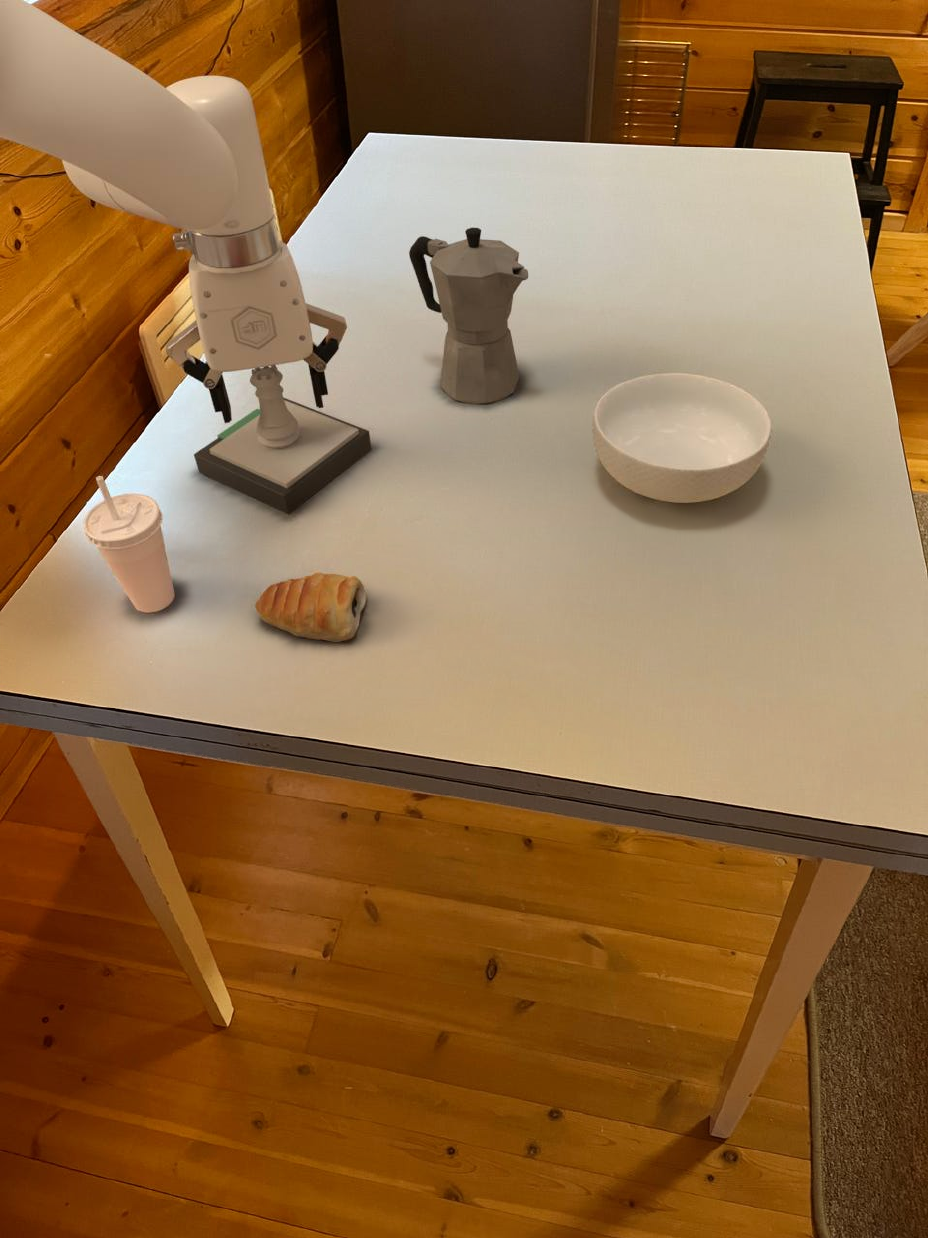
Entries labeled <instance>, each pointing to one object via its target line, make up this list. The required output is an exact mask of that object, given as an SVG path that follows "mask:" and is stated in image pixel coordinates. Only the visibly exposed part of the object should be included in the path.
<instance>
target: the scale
mask: <svg viewBox="0 0 928 1238" xmlns="http://www.w3.org/2000/svg"><path fill="white" fill-rule="evenodd" d="M283 399H284V402H285V404H286V407H287V409H288V411H290V412H291V414H292V415H293V416H294V417H295V419H296V420H297V422H298V427H299V429H300V435H299V437H298V439H297V440H296V441H295V443H293V444H291V445H290V446H288V447H284V448H278V449H273V448H268V447H266V446H264V445H263V444H262V443H260V442H259V440H258V433H257V431H256V429H257V423H258V422H259V421H258V420H259V417H260V408H256V409H254V410H253V411H251V412H249V414H247V415H245V416H244V417H242V418H241V419H240V420H238V421H236V422H234V423H233V424H232V425H230V426H228V428H226V429H225V430H222V431H221V432H220V433H219V434H217V438H216V439H214V440H213V441H211V442H210V443H208V444H207V445H205V446H203V447H202V448H201V449H200V450H198V451H196V452H195V453H193V457H194V460H195V464H196V467H197V470H198V473H199V474H201V475H203V476H205V477H207V478H209V479H212V480H214V481H216V482H218V483H220V484H222V485H224V486H226V487H229V488H230V489H233V490H236V491H237V492H239V493H242V494H244V495H246V496H247V497H250V498H252V499H254V500H257V501H258V502H261V503H263V504H264V505H268V506H269V507H271V508H274V509H275V510H278V511H280V512H282V513H285V514H287V515H290V514H291V513H293V512H294V511H295V510H296V509H298V508H299V507H300V506H301V505H303V504H304V503H306V502H307V501H308V500H310V499H311V498H312V497H313V496H315V494H317V493H319V491H321V490H322V489H323V488H324V487H326V486H327V485H329V484H330V483H331V482H332V481H334V480H335V479H336V478H337V477H339V476H340V475H341V474H342V473H344V472H345V471H346V470H347V469H349V468H350V467H352V465H354V464H355V463H356V462H358V461H359V460H360V459H361V458H363V457H364V456H366V454H368V453H369V452H371V451H372V443H371V437H370V436H371V435H370V431H369V430H368V429H365V428H364V427H363V428H362V427H359V426H358V425H355V424H352V423H350V422H347V421H345V420H342V419H340V418H337V417H334V416H332V415H330V414H327V413H324V412H321V411H320V410H316V409H314V408H311V407H309V406H306V405H304V404H302V403H299V402H296V401H293V400H291V399H288V398H286V397H284V396H283Z"/></svg>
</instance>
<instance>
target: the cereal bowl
mask: <svg viewBox="0 0 928 1238" xmlns="http://www.w3.org/2000/svg"><path fill="white" fill-rule="evenodd" d="M770 417H771V416H770V415H769V413H768V411H767V410H766V408H765V407H764V405H763V404H762V403H761V402H760V401H759V400H758V399H757V398H755V396H753V395H752V394H750V393H748V392H747V391H746V390H744V389H742V388H740V387H739V386H736V385H734V384H732V383H729V382H727V381H724V380H721V379H718V378H714V377H710V376H706V375H700V374H693V373H684V372H683V373H682V372H679V373H678V372H666V373H665V372H664V373H656V374H649V375H642V376H638V377H635V378H631V379H628V380H626V381H623V382H620V383H619V384H616V385H615V386H613V387H611V388H610V389H609V390H607V391H606V392H605V393H604V394H603V395H602V396H601V398H599V400H598V402H597V403H596V406H595V408H594V412H593V419H592V420H593V421H592V434H593V438H592V439H593V446H594V447H595V452H596V455H597V458H598V459H599V462H600V464H601V465H602V466H603V468H604V469H605V470H606V472H607V473H608V474H609V475H610V476H611V478H614V480H615V481H616V482H618V483H619V484H620V485H621V486H624V487H625V488H626V489H628V490H630V491H632V492H633V493H636V494H637V495H640V496H644V497H646V498H649V499H653V500H657V501H661V502H667V503H668V502H669V503H674V504H677V503H679V504H688V503H689V504H692V503H700V502H701V503H702V502H706V501H710V500H714V499H719V498H721V497H724V496H726V495H728V494H730V493H732V492H733V491H736V490H738V489H739V488H740V487H742V486H743V485H745V483H747V482H748V481H750V480H751V478H752V477H754V475H755V473H756V472H757V471H758V470H759V467H760V466H761V465H762V463H763V461H764V459H765V456H766V454H767V452H768V449H769V446H770V440H771V438H772V432H773V431H772V430H773V429H772V428H773V427H772V421H771V418H770Z"/></svg>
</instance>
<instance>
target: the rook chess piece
mask: <svg viewBox="0 0 928 1238" xmlns="http://www.w3.org/2000/svg"><path fill="white" fill-rule="evenodd" d="M283 377H284V375H283V373H282V372H281V371H280V370H279V369H278V367H277V365H273V366H266V367H260V368H253V369H251V375H250V377H249V383H250V384H251V385H252V386H253V387H254V388H255V389H256V390H255V392H254V395H255V396H256V398H257V399H258V402H259V409H260V417H259V420H258V421H259V422H258V423H257V429H256V431H257V433H258V440H259V442H260V443H262V444H263V445H264V446H266V447H268V448H273V449H278V448H284V447H288V446H290V445H291V444H293V443H295V441H296V440H297V439H298V437H299V435H300V429H299V427H298V422H297V420H296V419H295V417H294V416H293V415H292V414H291V412H290V411H288V409H287V407H286V404H285V402H284V399H283V397H284V395H283V393H284V388H283V386H281V383H282V380H283Z"/></svg>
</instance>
